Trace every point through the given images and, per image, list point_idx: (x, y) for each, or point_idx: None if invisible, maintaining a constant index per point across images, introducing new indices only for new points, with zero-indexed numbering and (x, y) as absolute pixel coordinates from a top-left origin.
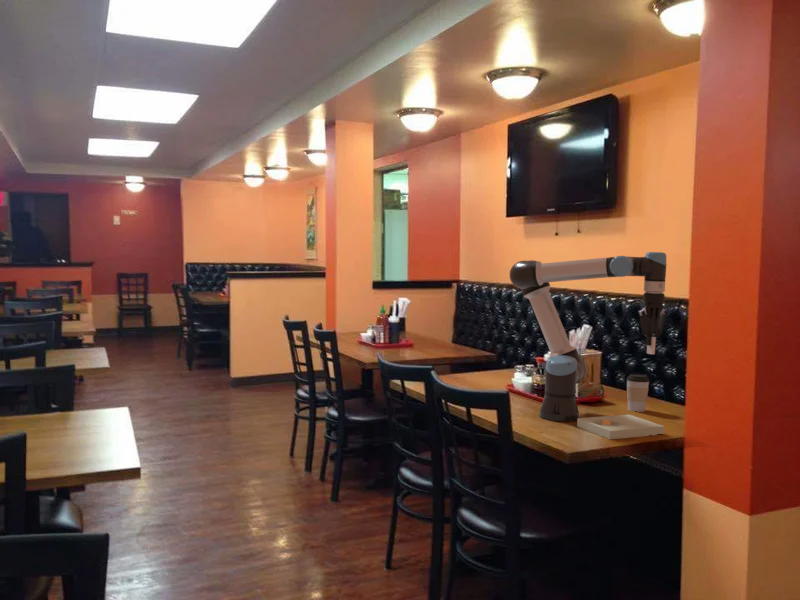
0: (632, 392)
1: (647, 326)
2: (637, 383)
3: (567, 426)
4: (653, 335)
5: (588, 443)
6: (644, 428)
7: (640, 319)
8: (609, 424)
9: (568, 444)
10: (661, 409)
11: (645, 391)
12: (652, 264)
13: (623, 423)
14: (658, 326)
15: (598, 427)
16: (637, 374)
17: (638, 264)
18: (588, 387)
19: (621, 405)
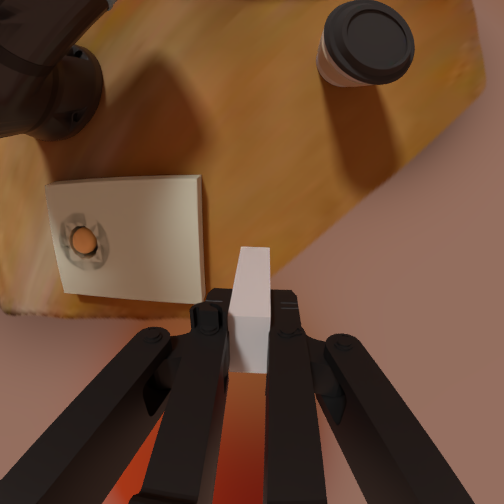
0: (322, 58)
1: (131, 446)
2: (338, 66)
3: (39, 176)
4: (267, 361)
5: (34, 288)
6: (145, 299)
7: (30, 455)
8: (83, 253)
9: (8, 281)
10: (419, 91)
11: (363, 85)
12: None
13: (118, 255)
14: (353, 431)
15: (57, 258)
16: (393, 18)
17: None
18: None
19: None
